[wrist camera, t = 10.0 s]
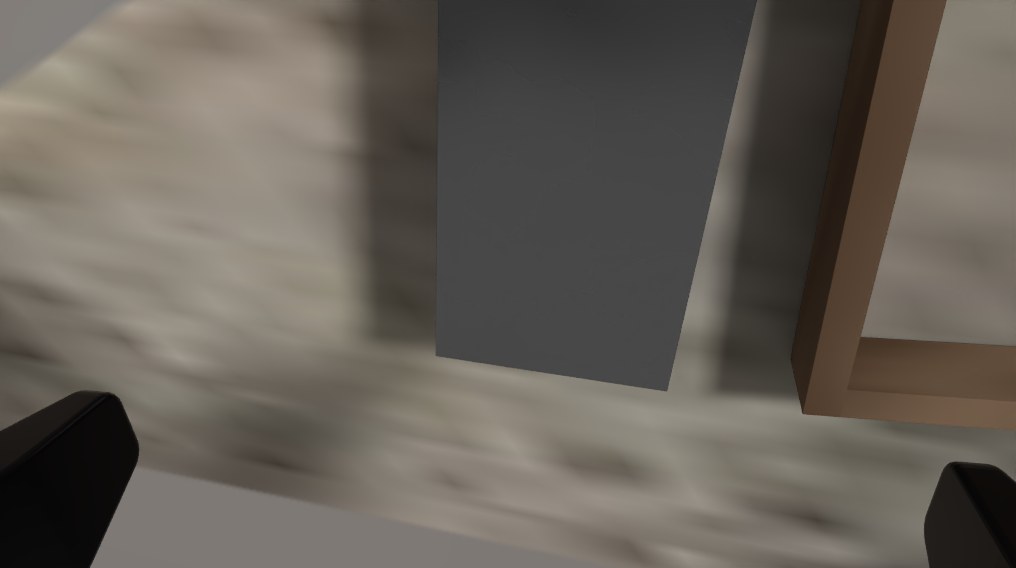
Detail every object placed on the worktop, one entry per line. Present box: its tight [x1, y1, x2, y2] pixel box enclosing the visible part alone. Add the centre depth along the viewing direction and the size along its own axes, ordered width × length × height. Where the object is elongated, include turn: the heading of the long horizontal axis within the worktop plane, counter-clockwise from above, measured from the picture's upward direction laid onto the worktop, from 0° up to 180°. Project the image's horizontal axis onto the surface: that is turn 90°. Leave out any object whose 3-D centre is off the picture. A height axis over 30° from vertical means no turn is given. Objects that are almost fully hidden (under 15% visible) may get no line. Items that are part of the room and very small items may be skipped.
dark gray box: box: [436, 0, 757, 391], centre depth 15 cm, size 5×9×4 cm, turn 177°
